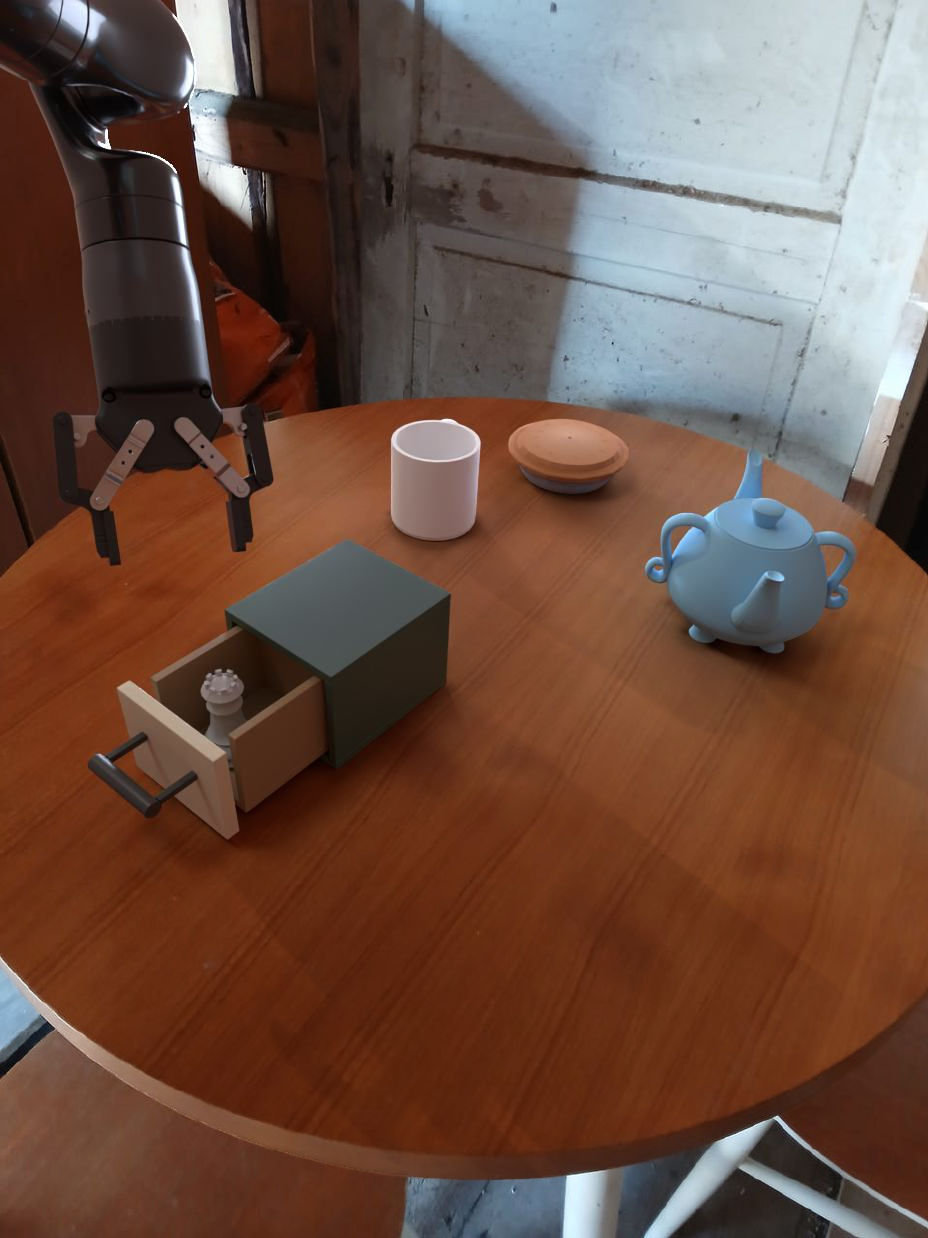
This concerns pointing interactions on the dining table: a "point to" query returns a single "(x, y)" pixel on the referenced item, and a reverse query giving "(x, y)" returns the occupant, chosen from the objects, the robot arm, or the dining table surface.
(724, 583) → the teapot
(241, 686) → the rook chess piece
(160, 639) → the dining table surface
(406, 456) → the mug
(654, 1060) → the dining table surface
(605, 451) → the pie
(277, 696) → the drawer
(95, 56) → the robot arm
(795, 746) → the dining table surface
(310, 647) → the cabinet
